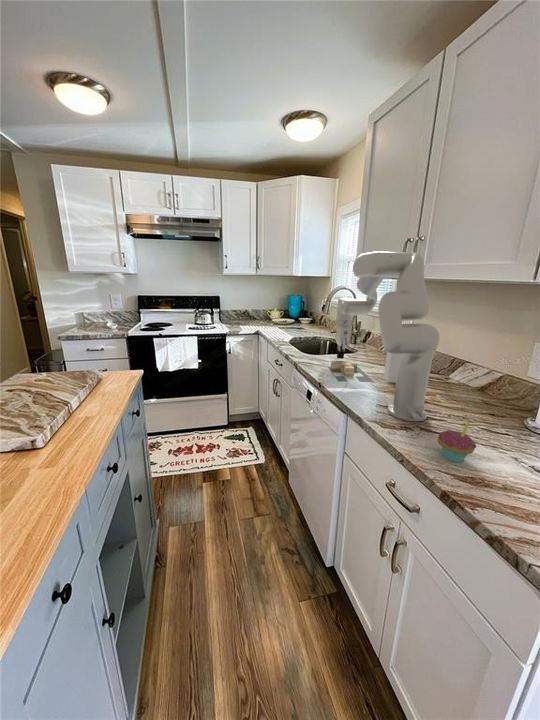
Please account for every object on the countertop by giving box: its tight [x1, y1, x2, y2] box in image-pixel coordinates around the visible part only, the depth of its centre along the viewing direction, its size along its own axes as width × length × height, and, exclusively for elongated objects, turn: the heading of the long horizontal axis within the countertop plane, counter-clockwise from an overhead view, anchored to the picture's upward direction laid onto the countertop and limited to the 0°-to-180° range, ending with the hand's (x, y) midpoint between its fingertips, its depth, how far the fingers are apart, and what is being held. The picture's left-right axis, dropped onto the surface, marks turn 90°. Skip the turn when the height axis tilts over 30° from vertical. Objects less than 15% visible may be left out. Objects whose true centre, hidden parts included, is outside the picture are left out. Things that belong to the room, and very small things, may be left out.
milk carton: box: [383, 351, 405, 384], centre depth 133 cm, size 7×7×19 cm
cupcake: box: [436, 419, 477, 463], centre depth 78 cm, size 9×8×12 cm
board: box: [327, 366, 375, 383], centre depth 142 cm, size 22×16×1 cm
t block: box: [330, 360, 358, 376], centre depth 144 cm, size 12×12×4 cm
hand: (340, 358), depth 155 cm, fingers closed
